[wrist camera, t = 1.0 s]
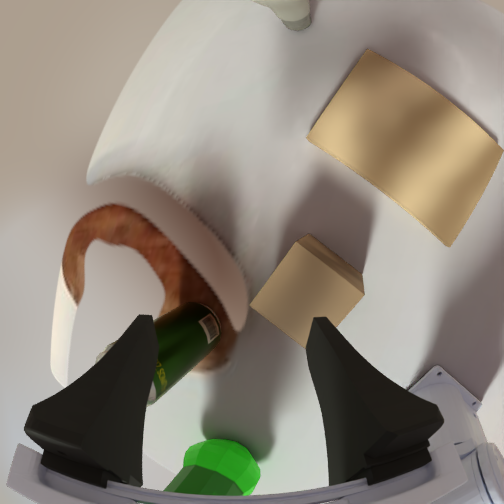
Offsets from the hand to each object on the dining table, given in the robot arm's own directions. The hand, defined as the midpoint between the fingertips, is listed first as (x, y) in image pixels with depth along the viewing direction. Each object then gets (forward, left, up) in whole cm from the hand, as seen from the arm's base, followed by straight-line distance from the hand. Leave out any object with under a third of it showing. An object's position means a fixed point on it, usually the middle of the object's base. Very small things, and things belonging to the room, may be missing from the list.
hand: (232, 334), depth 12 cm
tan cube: (-2, -1, -12) cm, 12 cm away
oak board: (-2, -15, -12) cm, 19 cm away
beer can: (+4, +10, -12) cm, 17 cm away
